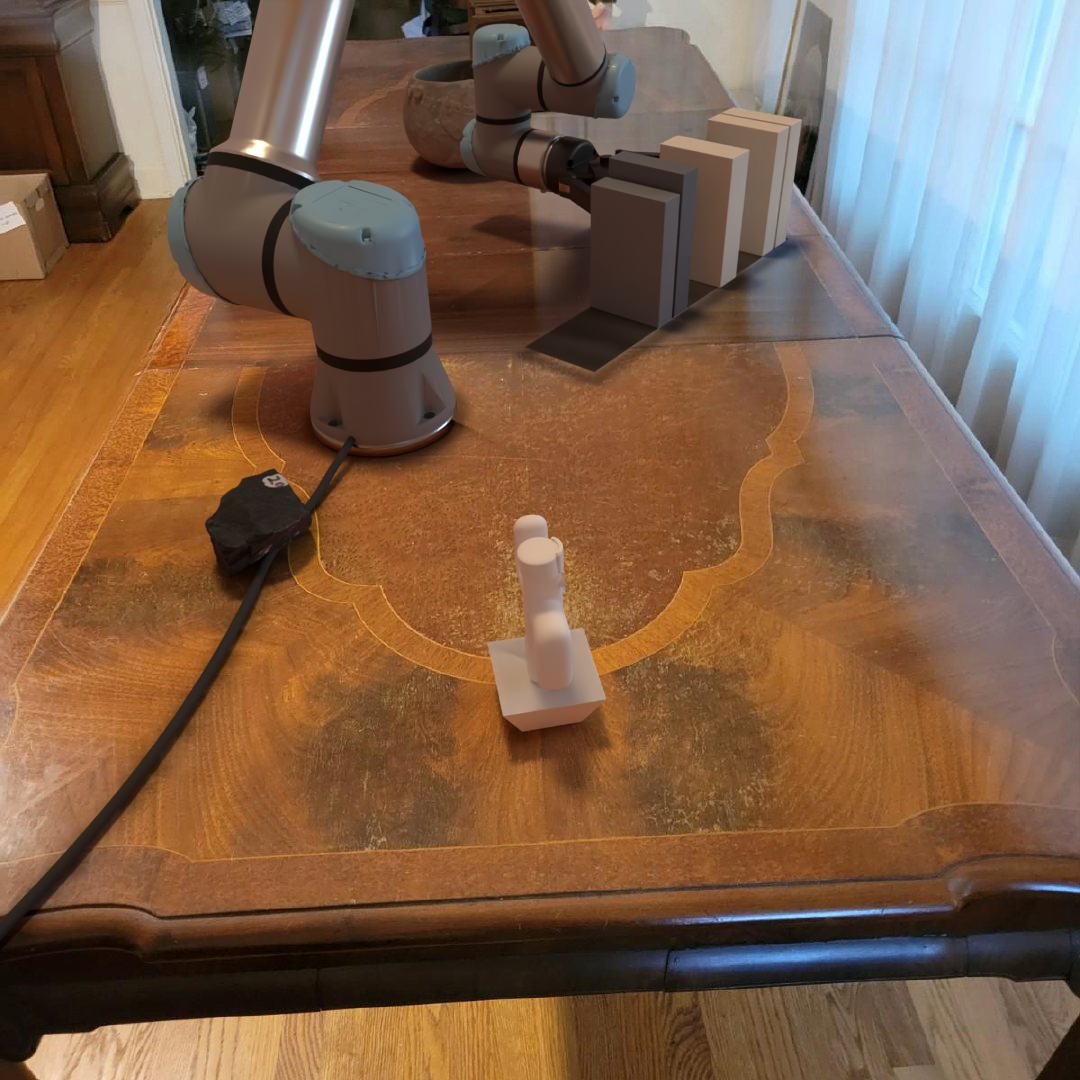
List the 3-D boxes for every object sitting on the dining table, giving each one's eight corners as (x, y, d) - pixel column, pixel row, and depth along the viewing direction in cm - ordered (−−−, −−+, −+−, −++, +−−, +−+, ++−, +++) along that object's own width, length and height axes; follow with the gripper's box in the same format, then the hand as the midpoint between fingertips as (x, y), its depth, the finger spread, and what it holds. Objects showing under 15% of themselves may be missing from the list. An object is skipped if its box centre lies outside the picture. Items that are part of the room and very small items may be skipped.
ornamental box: (471, 82, 217) (454, -11, 206) (550, 67, 216) (537, -28, 205) (477, 124, 189) (457, 19, 178) (567, 107, 189) (553, 1, 177)
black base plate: (594, 381, 109) (594, 372, 108) (524, 356, 114) (524, 346, 113) (788, 246, 136) (789, 238, 135) (725, 230, 141) (726, 222, 140)
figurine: (508, 763, 68) (496, 604, 59) (487, 666, 75) (474, 511, 66) (609, 745, 69) (614, 587, 60) (579, 651, 76) (579, 497, 67)
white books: (762, 256, 131) (778, 132, 121) (697, 240, 136) (707, 119, 126) (785, 241, 135) (802, 119, 125) (721, 225, 140) (733, 107, 130)
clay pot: (404, 186, 158) (393, 87, 149) (412, 146, 175) (403, 54, 165) (534, 182, 159) (531, 83, 149) (530, 142, 175) (528, 50, 165)
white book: (720, 288, 124) (732, 158, 114) (653, 269, 129) (660, 143, 118) (736, 277, 126) (749, 149, 116) (669, 259, 131) (677, 135, 121)
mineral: (189, 534, 89) (173, 482, 85) (281, 497, 93) (269, 446, 89) (234, 594, 82) (219, 540, 79) (331, 552, 87) (320, 499, 83)
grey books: (658, 328, 115) (666, 183, 105) (589, 306, 120) (590, 166, 110) (687, 308, 119) (698, 166, 109) (619, 288, 124) (623, 150, 114)
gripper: (612, 167, 142) (742, 197, 131) (501, 220, 127) (637, 259, 116) (614, 113, 137) (748, 139, 126) (498, 161, 122) (640, 196, 111)
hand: (695, 197), depth 121 cm, fingers open, 13 cm apart
